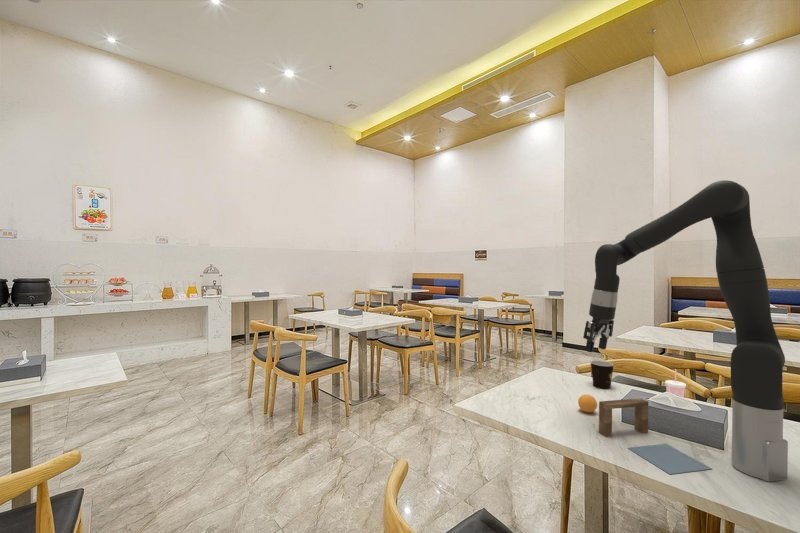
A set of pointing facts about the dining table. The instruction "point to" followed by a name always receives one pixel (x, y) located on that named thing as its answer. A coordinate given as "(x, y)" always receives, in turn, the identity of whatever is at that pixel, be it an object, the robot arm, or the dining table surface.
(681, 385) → the beverage cup
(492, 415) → the dining table surface
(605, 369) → the coffee mug
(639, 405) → the bridge
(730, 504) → the dining table surface
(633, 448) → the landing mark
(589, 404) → the ball
